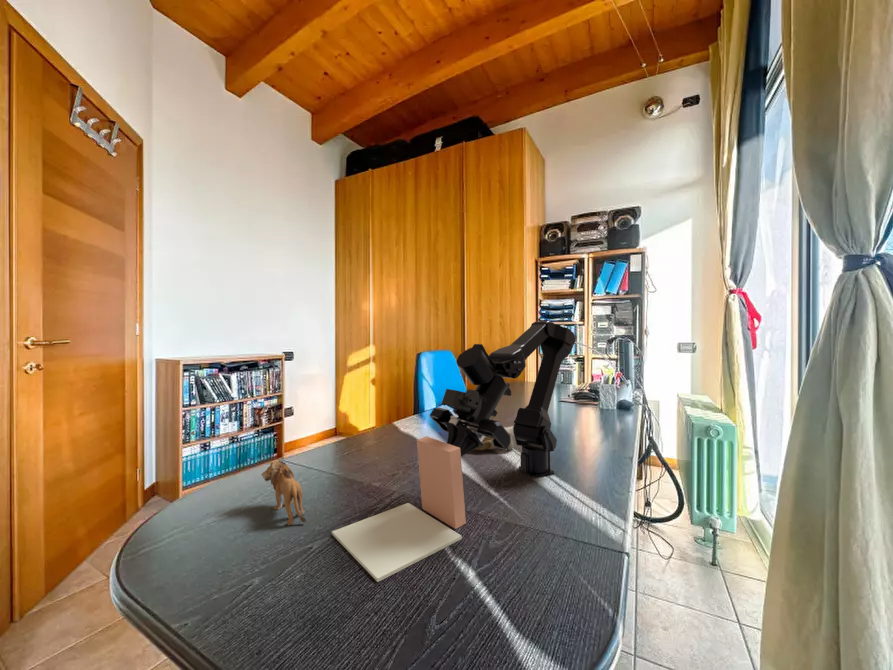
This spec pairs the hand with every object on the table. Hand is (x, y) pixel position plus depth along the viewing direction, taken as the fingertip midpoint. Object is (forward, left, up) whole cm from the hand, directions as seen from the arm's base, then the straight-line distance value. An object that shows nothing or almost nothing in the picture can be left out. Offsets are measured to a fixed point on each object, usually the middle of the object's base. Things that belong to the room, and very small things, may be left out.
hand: (445, 463), depth 68 cm
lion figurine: (+29, -13, -10) cm, 33 cm away
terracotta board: (+1, 0, -10) cm, 10 cm away
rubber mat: (+11, +4, -10) cm, 15 cm away
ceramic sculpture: (-27, -32, -10) cm, 43 cm away
